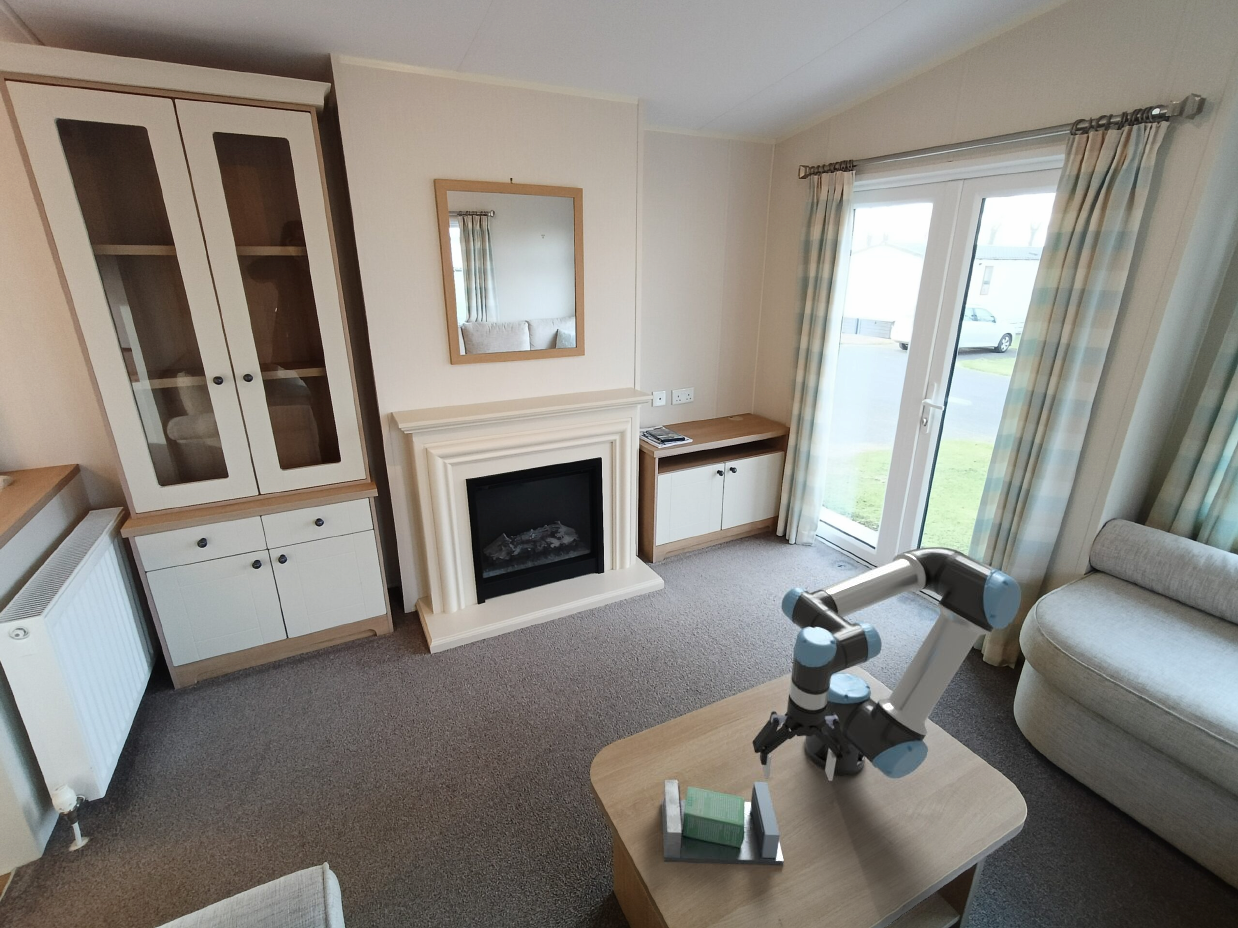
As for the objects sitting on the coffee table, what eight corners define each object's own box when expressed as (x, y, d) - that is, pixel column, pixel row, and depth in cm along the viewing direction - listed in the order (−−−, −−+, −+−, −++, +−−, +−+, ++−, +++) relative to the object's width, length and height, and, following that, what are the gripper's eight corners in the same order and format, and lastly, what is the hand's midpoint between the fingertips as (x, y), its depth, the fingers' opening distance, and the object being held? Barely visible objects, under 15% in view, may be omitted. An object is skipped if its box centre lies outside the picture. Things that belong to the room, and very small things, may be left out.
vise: (769, 807, 137) (772, 780, 134) (783, 865, 124) (787, 837, 121) (661, 803, 138) (662, 777, 135) (664, 861, 125) (665, 834, 122)
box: (742, 849, 126) (745, 824, 123) (681, 837, 128) (683, 812, 126) (743, 819, 132) (745, 795, 130) (685, 808, 135) (686, 784, 132)
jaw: (763, 803, 136) (766, 781, 134) (776, 857, 124) (779, 834, 121) (749, 803, 136) (752, 781, 134) (760, 857, 124) (763, 834, 121)
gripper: (862, 685, 120) (849, 761, 127) (743, 683, 121) (737, 758, 128) (876, 712, 113) (861, 791, 120) (750, 710, 114) (742, 788, 121)
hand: (797, 774), depth 124 cm, fingers open, 13 cm apart
